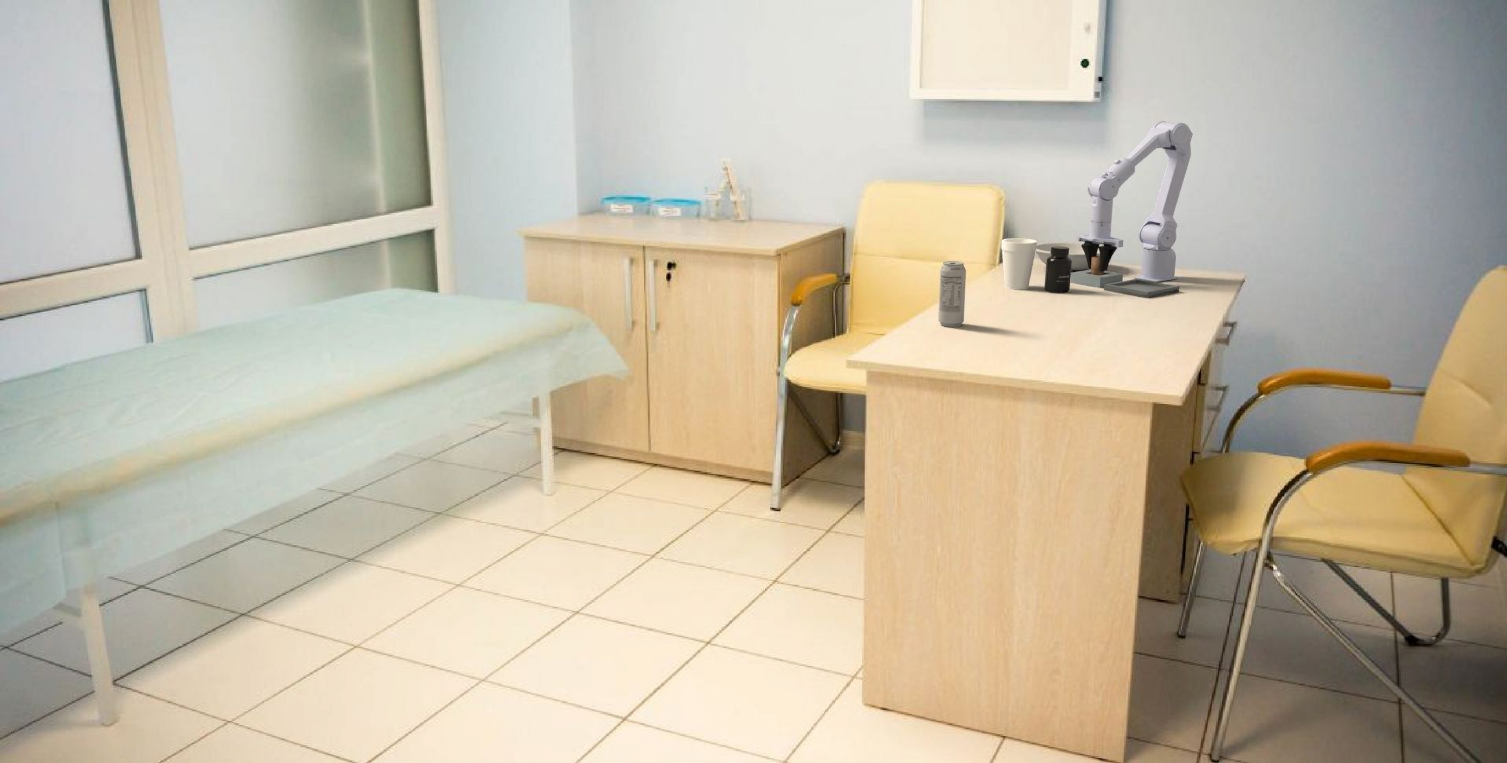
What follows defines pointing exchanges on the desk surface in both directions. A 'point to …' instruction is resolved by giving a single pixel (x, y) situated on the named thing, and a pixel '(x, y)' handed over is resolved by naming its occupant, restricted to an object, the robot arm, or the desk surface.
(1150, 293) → the tray
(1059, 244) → the soup bowl
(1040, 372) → the desk surface
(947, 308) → the energy drink can
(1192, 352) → the desk surface
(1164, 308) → the desk surface
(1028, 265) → the foam cup
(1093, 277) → the square hole block
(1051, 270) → the supplement bottle
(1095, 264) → the dowel
